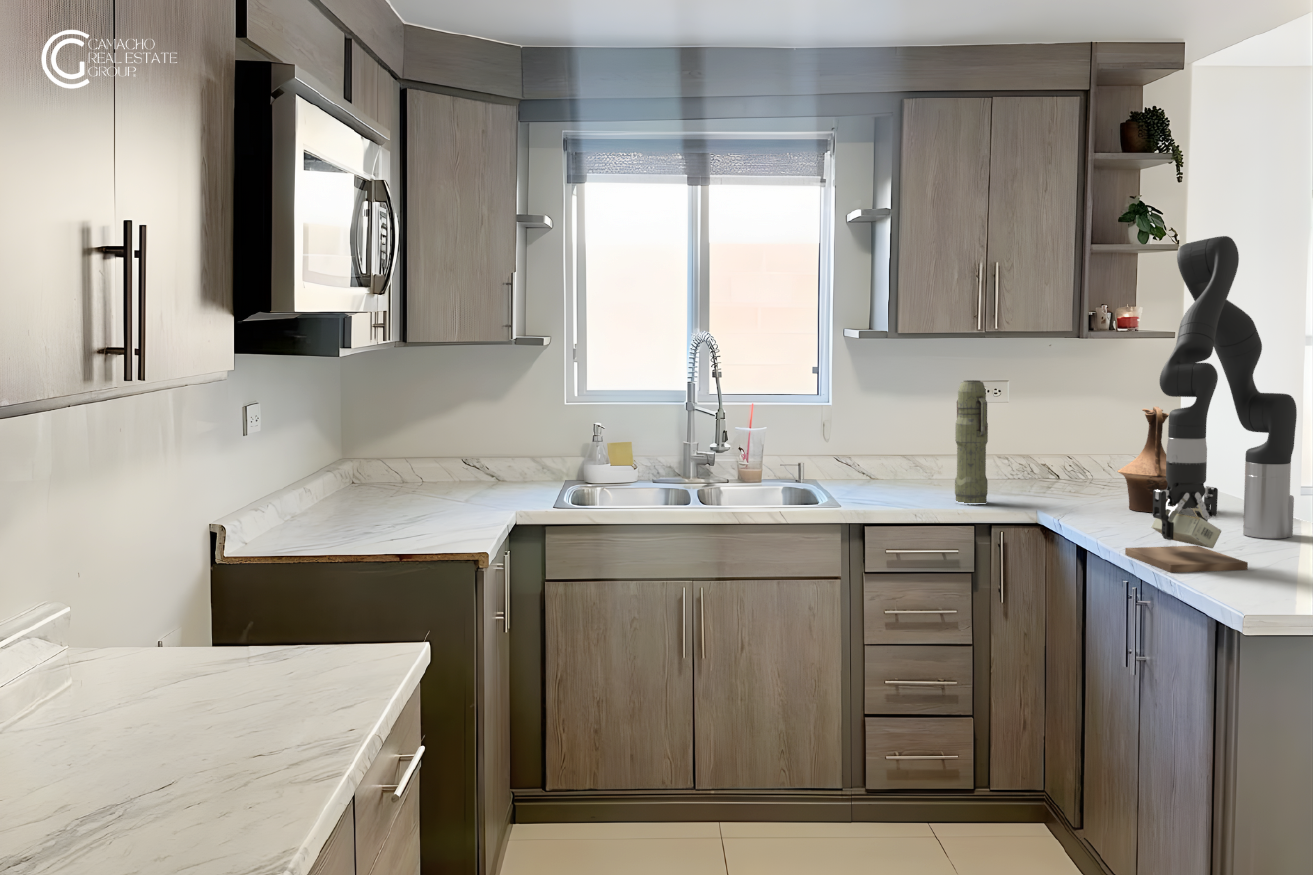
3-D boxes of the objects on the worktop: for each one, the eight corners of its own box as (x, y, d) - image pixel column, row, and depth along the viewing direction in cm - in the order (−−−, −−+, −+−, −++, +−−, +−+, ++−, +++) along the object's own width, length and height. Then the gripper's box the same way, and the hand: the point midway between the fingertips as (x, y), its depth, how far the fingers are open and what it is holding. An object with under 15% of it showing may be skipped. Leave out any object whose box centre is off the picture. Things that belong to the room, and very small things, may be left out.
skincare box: (1200, 517, 217) (1159, 508, 229) (1190, 536, 217) (1149, 527, 229) (1223, 531, 219) (1181, 522, 231) (1213, 550, 219) (1171, 540, 230)
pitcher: (1194, 515, 281) (1197, 408, 278) (1124, 514, 284) (1126, 408, 282) (1176, 505, 298) (1178, 404, 296) (1110, 504, 301) (1112, 404, 299)
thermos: (967, 499, 316) (968, 379, 313) (997, 504, 306) (998, 380, 303) (944, 501, 312) (945, 380, 309) (973, 506, 302) (974, 381, 299)
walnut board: (1196, 552, 234) (1196, 545, 234) (1247, 569, 216) (1247, 562, 216) (1125, 554, 233) (1125, 547, 233) (1170, 572, 215) (1170, 564, 215)
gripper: (1202, 456, 228) (1200, 533, 230) (1144, 459, 225) (1142, 537, 226) (1229, 459, 221) (1226, 539, 222) (1169, 462, 218) (1167, 543, 219)
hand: (1184, 538), depth 224 cm, fingers closed on skincare box, 7 cm apart
